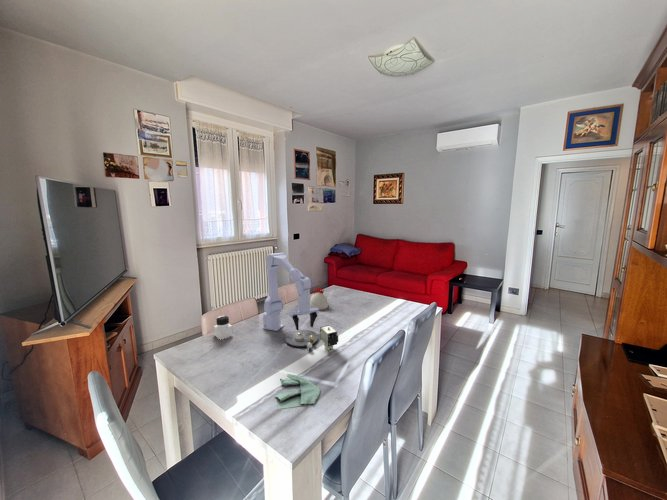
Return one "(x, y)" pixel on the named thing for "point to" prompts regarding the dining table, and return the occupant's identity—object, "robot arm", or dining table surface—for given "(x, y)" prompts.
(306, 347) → the base plate
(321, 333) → the pneumatic valve
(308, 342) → the silver oval knob
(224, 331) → the medicine bottle
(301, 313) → the robot arm
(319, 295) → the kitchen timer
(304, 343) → the turntable
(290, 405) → the cloth
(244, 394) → the dining table surface
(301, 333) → the cover
